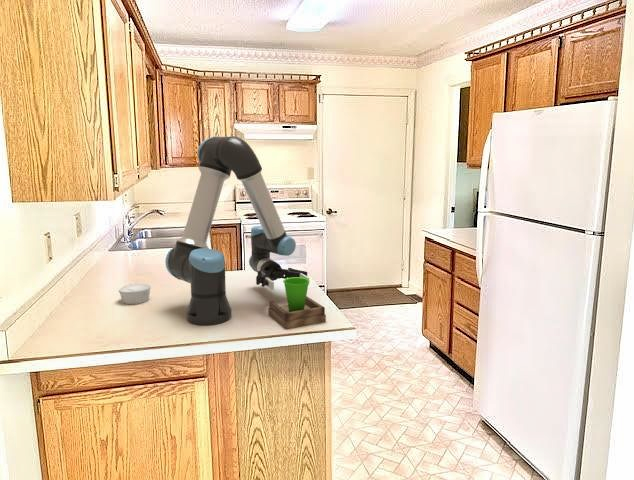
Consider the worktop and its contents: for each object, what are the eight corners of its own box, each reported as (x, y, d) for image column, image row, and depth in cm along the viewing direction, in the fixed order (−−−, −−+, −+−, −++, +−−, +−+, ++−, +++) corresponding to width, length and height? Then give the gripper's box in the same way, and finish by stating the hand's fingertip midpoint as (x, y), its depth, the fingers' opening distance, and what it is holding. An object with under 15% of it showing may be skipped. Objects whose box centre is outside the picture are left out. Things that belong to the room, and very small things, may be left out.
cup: (306, 316, 156) (306, 285, 154) (280, 314, 158) (280, 283, 156) (311, 307, 165) (312, 277, 163) (287, 306, 167) (287, 276, 165)
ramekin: (113, 304, 175) (112, 291, 174) (129, 295, 186) (128, 282, 185) (141, 306, 174) (140, 292, 173) (156, 297, 184) (155, 284, 183)
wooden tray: (285, 329, 152) (285, 314, 151) (268, 314, 165) (268, 301, 164) (325, 321, 159) (325, 307, 158) (306, 308, 172) (306, 295, 171)
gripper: (298, 275, 190) (322, 289, 171) (239, 282, 179) (257, 298, 160) (298, 257, 188) (322, 269, 170) (238, 263, 177) (257, 277, 159)
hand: (290, 283), depth 165 cm, fingers open, 13 cm apart
